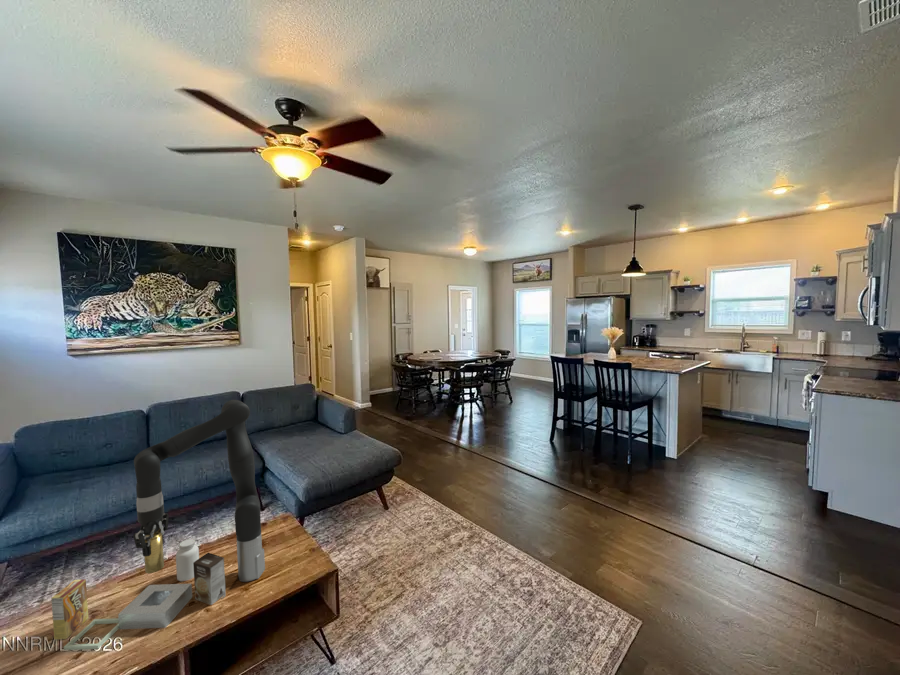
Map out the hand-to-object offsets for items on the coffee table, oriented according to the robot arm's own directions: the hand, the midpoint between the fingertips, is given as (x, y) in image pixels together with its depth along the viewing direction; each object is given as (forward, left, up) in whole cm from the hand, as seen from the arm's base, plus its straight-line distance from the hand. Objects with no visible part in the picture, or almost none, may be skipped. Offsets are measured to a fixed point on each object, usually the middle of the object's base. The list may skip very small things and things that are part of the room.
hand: (153, 550), depth 135 cm
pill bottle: (+2, -20, -25) cm, 32 cm away
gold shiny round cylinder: (0, 0, -7) cm, 7 cm away
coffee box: (-15, -7, -25) cm, 30 cm away
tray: (+14, +9, -25) cm, 30 cm away
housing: (0, 0, -25) cm, 25 cm away
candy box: (+26, +5, -25) cm, 37 cm away
